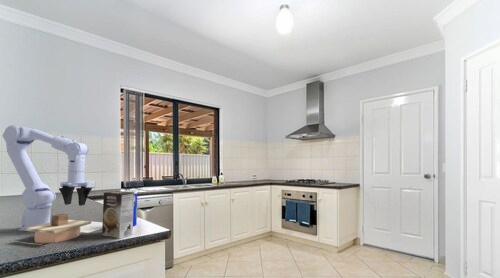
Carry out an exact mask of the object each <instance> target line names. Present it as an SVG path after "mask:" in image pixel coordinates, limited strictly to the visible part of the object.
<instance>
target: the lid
mask: <svg viewBox="0 0 500 278" xmlns="http://www.w3.org/2000/svg"><path fill="white" fill-rule="evenodd" d="M88 224H91V220H90V221H89V220H88V221H87V220H78V219H76V220H75V219H69V214H68V213H59V214H58V213H57V214H53V215H51V218H50V223H45V224H41V225H36V226H32V227H27V228H25V232H27V231H28V232H32V231H34V233H35V232H44V233H54V234H55V233H58V232H62V231H66V230H70V229H73V228H77V227H81V226H85V225H88Z"/></svg>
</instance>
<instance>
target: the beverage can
mask: <svg viewBox="0 0 500 278" xmlns="http://www.w3.org/2000/svg"><path fill="white" fill-rule="evenodd" d="M124 192H134V208H133V227H136V226H137V220H138V219H137V218H138V191H137V189H136V190H124Z"/></svg>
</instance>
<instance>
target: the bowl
mask: <svg viewBox="0 0 500 278" xmlns="http://www.w3.org/2000/svg"><path fill="white" fill-rule="evenodd" d="M79 236H81V232H80V227H77V228H73V229H70V230H66V231H62V232H58V233H55V234H54V233H44V232H34V237H33V239H34V242H35V243H34V244H36V245H41V244H47V243H49V244H51V243H58V242H64V241H68V240H72V239H75V238H77V237H79Z"/></svg>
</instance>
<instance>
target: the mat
mask: <svg viewBox="0 0 500 278" xmlns="http://www.w3.org/2000/svg"><path fill="white" fill-rule="evenodd" d="M90 222H91V224H88V225H85V226H81V227H80V233H83V234H85V233H86V234H89V233H92V232H95V231H99V230H102V223H103V221H91V220H90Z"/></svg>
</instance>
